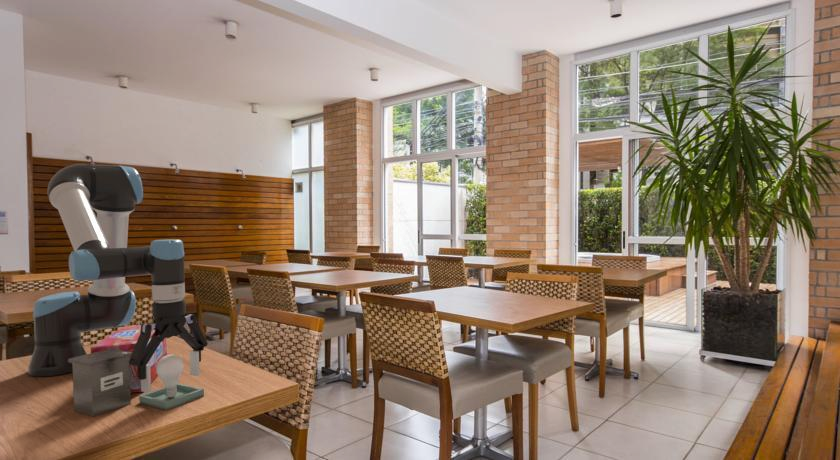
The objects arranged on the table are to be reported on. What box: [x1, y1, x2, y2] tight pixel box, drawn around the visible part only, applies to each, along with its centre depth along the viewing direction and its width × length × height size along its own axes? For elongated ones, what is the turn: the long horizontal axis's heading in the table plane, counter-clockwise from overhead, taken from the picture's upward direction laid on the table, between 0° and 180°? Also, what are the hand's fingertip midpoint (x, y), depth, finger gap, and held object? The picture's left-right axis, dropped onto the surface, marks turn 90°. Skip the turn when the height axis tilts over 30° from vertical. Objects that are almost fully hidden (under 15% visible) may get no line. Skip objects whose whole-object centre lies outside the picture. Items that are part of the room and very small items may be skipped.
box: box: [90, 324, 168, 394], centre depth 144 cm, size 27×13×14 cm, turn 15°
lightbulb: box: [156, 354, 185, 398], centre depth 127 cm, size 6×6×11 cm
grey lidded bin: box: [68, 349, 132, 417], centre depth 123 cm, size 9×10×13 cm
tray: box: [138, 382, 205, 411], centre depth 127 cm, size 11×11×2 cm
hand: (171, 383), depth 127 cm, fingers open, 13 cm apart
